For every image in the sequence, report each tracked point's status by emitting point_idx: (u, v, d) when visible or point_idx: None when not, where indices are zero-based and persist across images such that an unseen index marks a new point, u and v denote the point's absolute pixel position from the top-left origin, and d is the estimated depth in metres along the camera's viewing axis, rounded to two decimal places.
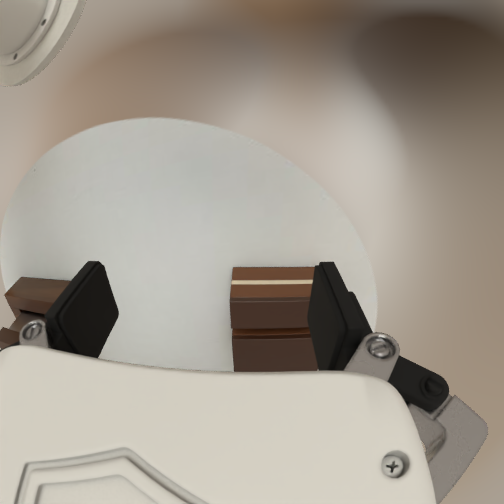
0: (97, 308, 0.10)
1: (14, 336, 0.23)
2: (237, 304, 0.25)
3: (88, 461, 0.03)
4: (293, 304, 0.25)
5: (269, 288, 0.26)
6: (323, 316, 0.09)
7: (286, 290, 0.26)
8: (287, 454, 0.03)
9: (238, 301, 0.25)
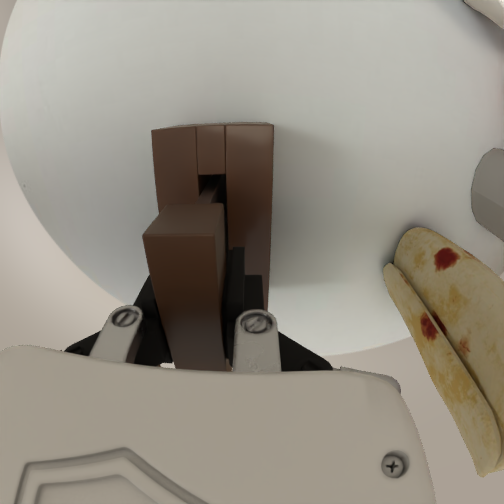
0: None
1: None
2: None
3: (88, 461, 0.03)
4: None
5: None
6: None
7: None
8: (287, 454, 0.03)
9: None
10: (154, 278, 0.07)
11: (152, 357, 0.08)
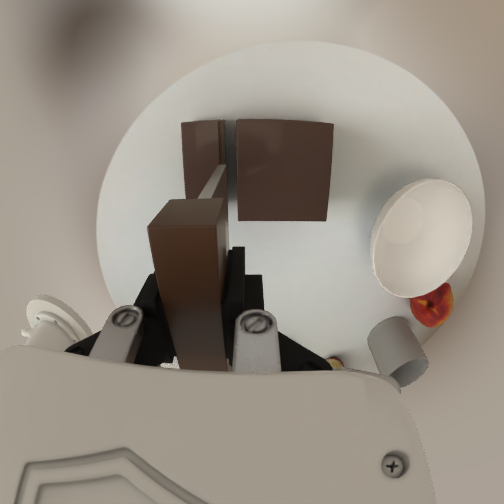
0: None
1: None
2: None
3: (88, 461, 0.03)
4: (187, 164, 0.24)
5: None
6: None
7: None
8: (287, 454, 0.03)
9: None
10: (158, 269, 0.08)
11: (152, 357, 0.08)
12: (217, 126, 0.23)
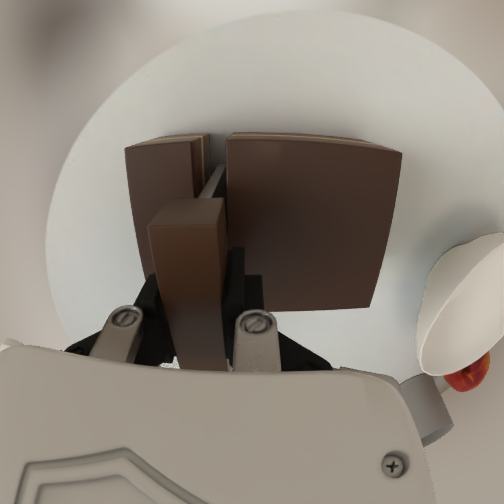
0: None
1: None
2: None
3: (88, 461, 0.03)
4: (140, 223, 0.14)
5: None
6: None
7: None
8: (287, 454, 0.03)
9: None
10: (158, 269, 0.08)
11: (152, 357, 0.08)
12: (189, 153, 0.12)
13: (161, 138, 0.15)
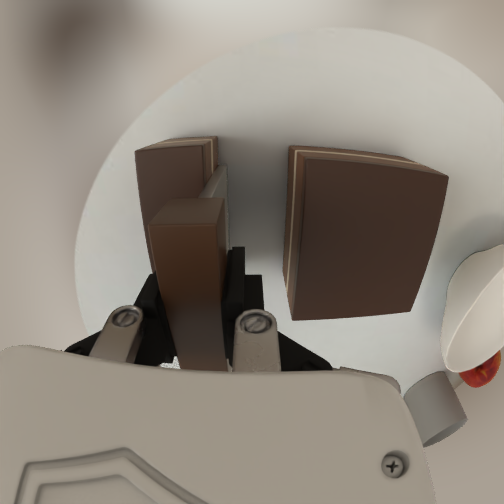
0: None
1: None
2: None
3: (88, 461, 0.03)
4: None
5: None
6: None
7: None
8: (287, 454, 0.03)
9: None
10: (159, 267, 0.08)
11: (152, 357, 0.08)
12: (200, 157, 0.12)
13: (170, 141, 0.15)
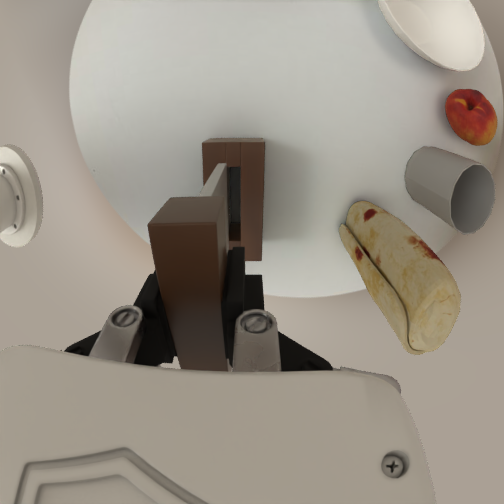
0: None
1: None
2: None
3: (88, 461, 0.03)
4: None
5: None
6: None
7: None
8: (287, 454, 0.03)
9: None
10: (158, 267, 0.08)
11: (152, 357, 0.08)
12: None
13: None
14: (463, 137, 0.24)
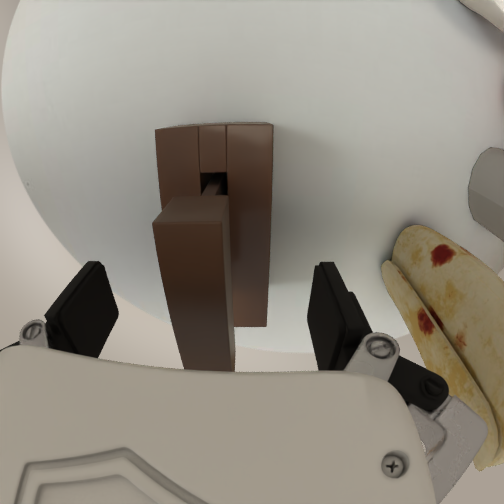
0: (97, 308, 0.10)
1: None
2: None
3: (88, 461, 0.03)
4: None
5: None
6: (323, 316, 0.09)
7: None
8: (287, 454, 0.03)
9: None
10: (163, 266, 0.08)
11: None
12: None
13: None
14: None
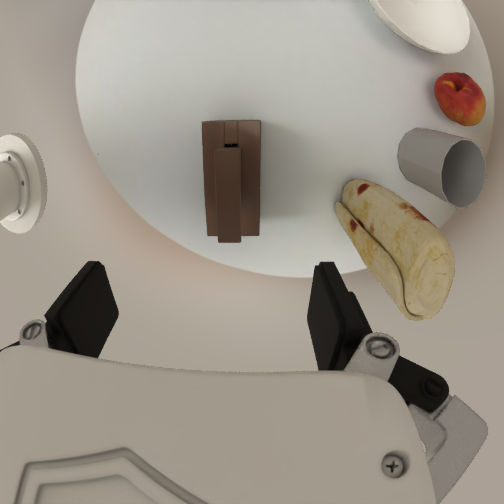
0: (97, 308, 0.10)
1: None
2: None
3: (88, 461, 0.03)
4: None
5: None
6: (323, 316, 0.09)
7: None
8: (287, 454, 0.03)
9: None
10: (216, 168, 0.21)
11: None
12: None
13: None
14: (453, 118, 0.24)
